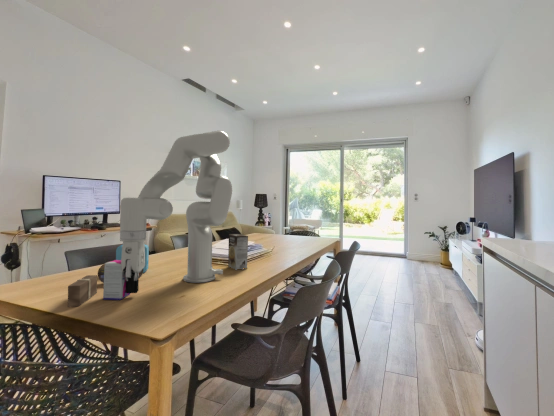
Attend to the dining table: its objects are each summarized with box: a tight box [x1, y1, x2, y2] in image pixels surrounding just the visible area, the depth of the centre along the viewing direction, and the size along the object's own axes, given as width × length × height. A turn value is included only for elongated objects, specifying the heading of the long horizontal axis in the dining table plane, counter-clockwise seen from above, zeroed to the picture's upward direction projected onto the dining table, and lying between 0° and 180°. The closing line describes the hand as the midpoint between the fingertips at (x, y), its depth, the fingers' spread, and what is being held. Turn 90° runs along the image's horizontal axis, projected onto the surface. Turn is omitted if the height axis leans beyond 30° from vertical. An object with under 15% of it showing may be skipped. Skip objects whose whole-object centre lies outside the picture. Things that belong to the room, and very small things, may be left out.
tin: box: [97, 260, 144, 284], centre depth 104 cm, size 15×3×8 cm, turn 117°
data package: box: [115, 243, 150, 274], centre depth 119 cm, size 12×4×12 cm, turn 105°
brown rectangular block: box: [67, 274, 98, 308], centre depth 85 cm, size 3×12×6 cm, turn 13°
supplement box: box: [102, 259, 131, 301], centre depth 87 cm, size 6×6×12 cm
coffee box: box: [227, 233, 249, 271], centre depth 132 cm, size 9×6×16 cm
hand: (132, 292), depth 88 cm, fingers closed
